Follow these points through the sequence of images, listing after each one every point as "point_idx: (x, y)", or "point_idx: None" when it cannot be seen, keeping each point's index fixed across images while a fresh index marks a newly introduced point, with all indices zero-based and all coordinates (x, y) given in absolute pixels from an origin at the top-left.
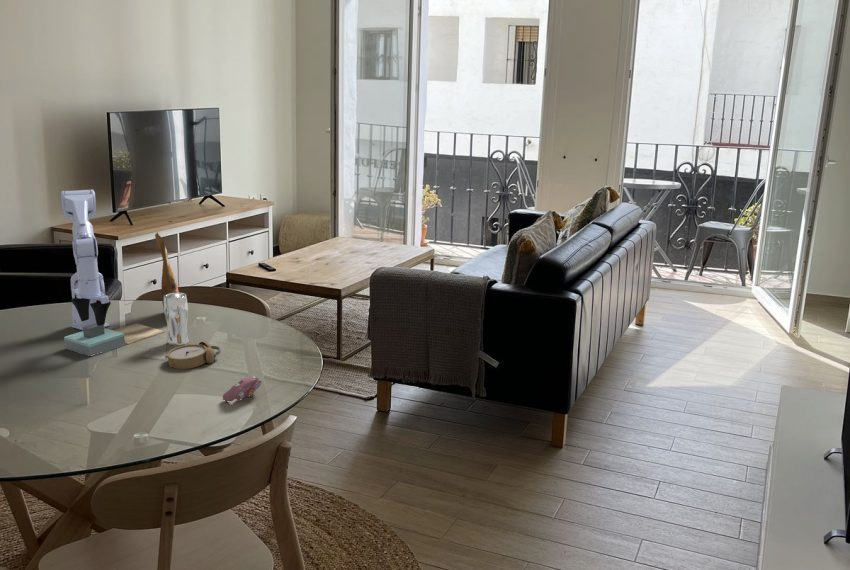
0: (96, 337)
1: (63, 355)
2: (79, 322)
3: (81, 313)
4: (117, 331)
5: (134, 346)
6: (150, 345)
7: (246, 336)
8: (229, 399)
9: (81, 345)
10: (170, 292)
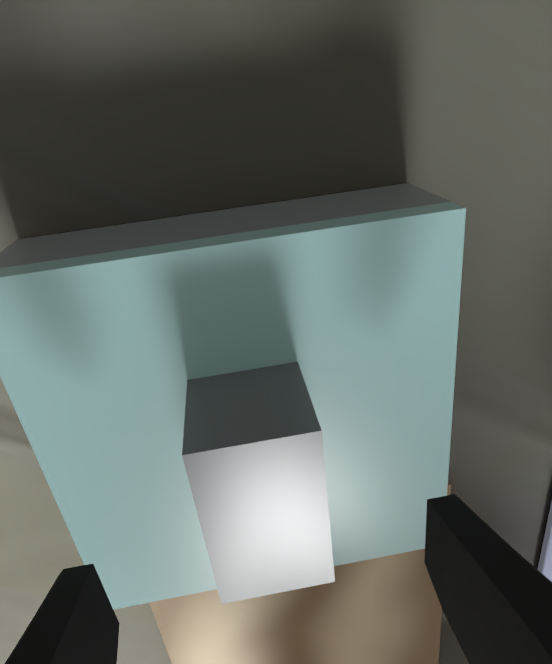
0: (168, 432)
1: (255, 71)
2: None
3: (493, 606)
4: (404, 574)
5: (59, 552)
6: (9, 616)
7: None
8: None
9: (130, 246)
10: None
